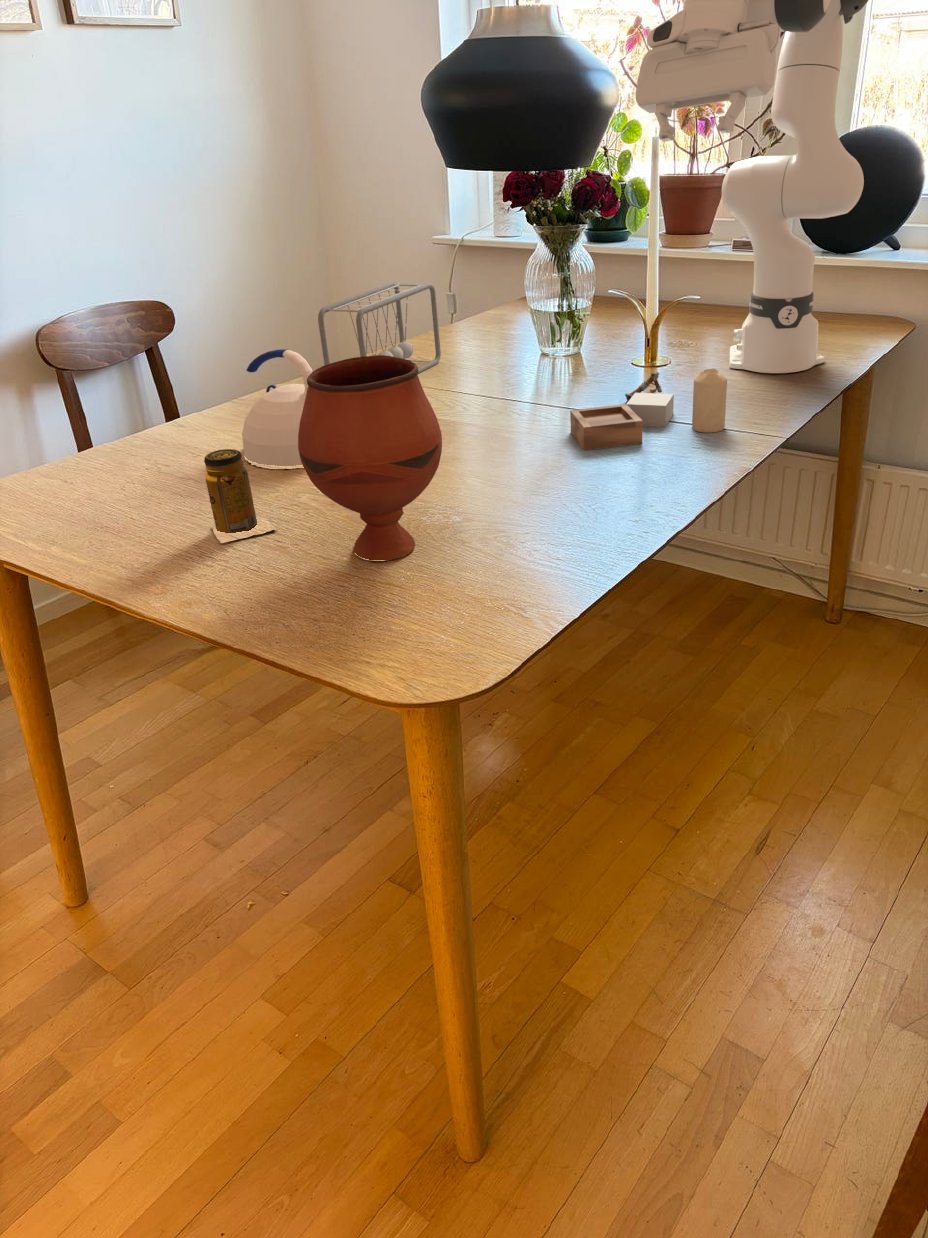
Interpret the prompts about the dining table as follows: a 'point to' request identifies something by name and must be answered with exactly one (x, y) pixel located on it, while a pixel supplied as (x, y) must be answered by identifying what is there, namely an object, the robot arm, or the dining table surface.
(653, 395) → the grey block
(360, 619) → the dining table surface
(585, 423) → the square wooden tray
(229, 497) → the condiment
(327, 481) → the goblet
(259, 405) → the kettle
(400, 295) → the newton's cradle
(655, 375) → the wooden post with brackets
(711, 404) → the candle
